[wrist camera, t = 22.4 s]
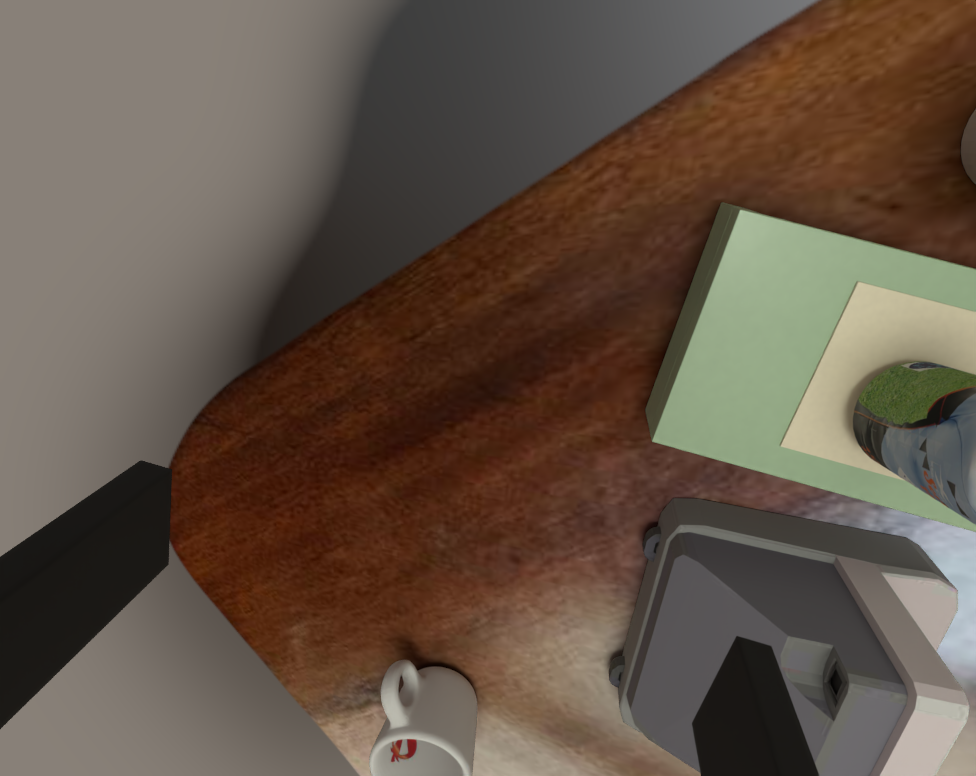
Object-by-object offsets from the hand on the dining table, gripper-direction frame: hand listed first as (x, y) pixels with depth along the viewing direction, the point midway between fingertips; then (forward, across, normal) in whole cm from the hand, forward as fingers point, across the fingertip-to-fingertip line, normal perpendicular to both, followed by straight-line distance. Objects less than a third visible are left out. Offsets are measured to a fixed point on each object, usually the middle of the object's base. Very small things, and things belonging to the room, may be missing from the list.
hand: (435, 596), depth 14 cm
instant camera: (+29, +22, -19) cm, 41 cm away
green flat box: (+29, +19, +2) cm, 34 cm away
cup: (+29, 0, -34) cm, 45 cm away
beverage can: (+24, +21, +2) cm, 32 cm away
